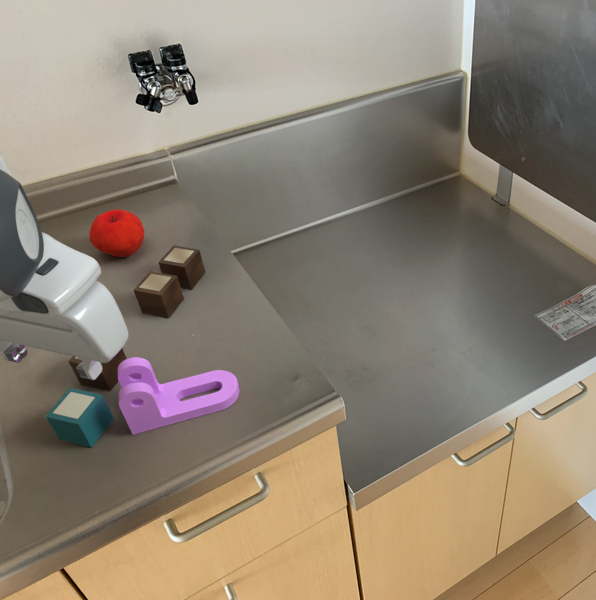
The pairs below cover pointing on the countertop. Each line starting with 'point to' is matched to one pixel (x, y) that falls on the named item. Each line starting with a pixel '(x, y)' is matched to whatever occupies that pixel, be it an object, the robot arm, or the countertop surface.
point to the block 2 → (183, 265)
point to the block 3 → (159, 294)
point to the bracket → (170, 395)
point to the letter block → (80, 417)
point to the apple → (117, 233)
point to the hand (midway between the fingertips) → (54, 365)
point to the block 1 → (106, 377)
